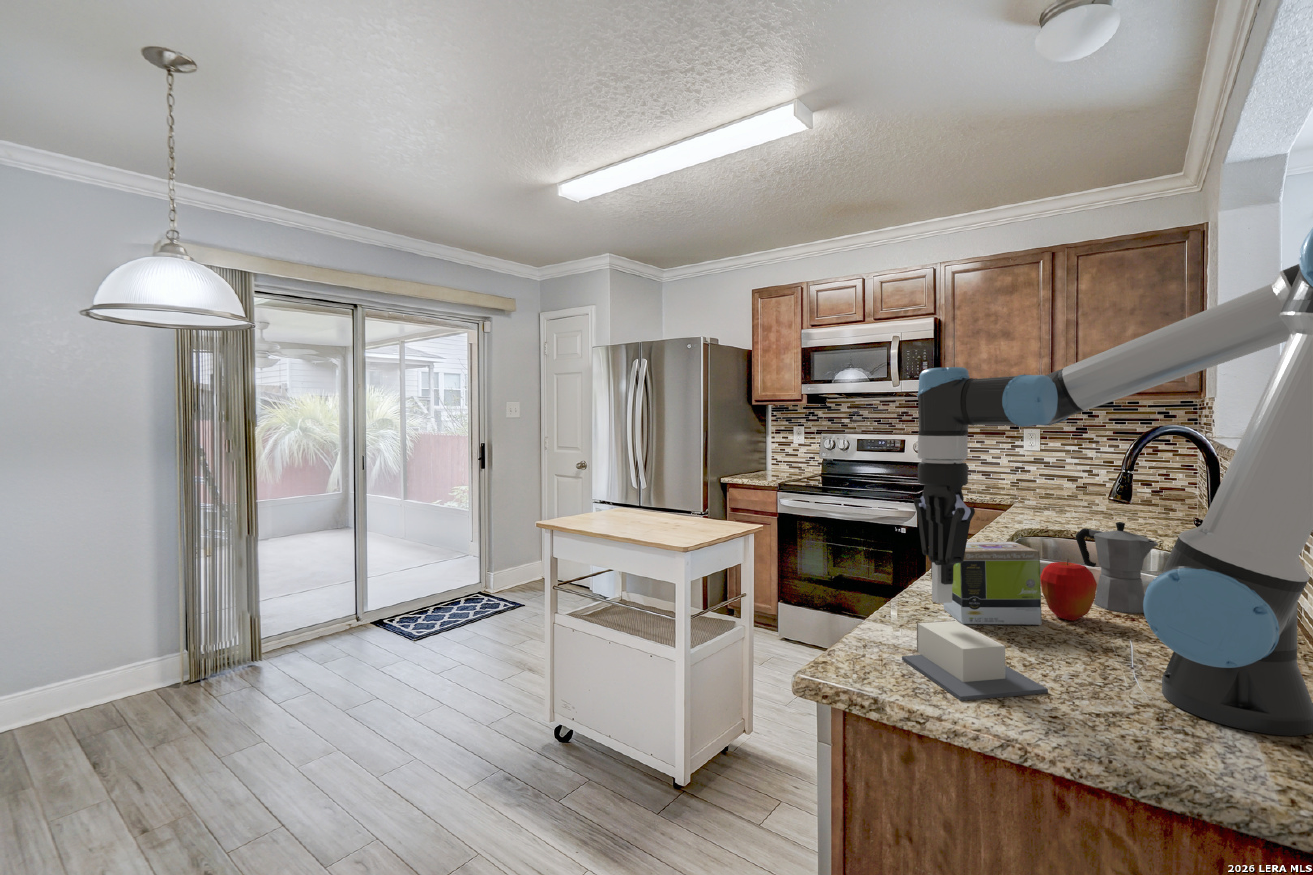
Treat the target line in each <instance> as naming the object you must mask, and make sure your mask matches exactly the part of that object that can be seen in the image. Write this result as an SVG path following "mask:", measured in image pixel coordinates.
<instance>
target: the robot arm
mask: <svg viewBox="0 0 1313 875" xmlns="http://www.w3.org/2000/svg"><path fill="white" fill-rule="evenodd" d="M1299 255H1300V256H1299V257H1298V264H1295V265H1292V266H1290V267H1288V268H1285V269H1283V270H1281V271H1279V272H1278V274H1277V276H1276V277H1275V279H1274V280H1273V281H1272V282H1271V283H1270V284H1267V285H1265V286H1262V287H1260V288H1257V289H1255V290H1252V291H1251V292H1248V293H1245V294H1243V295H1241V296H1238V297H1236V298H1233V299H1230V300H1228V301H1226V302H1223V303H1220V304H1218V305H1216V306H1213V307H1211V308H1208V309H1205V310H1203V311H1201V312H1197V313H1195V314H1193V315H1190V316H1188V317H1186V318H1183V319H1181V320H1178V321H1176V322H1173V323H1171V324H1168V325H1165V326H1164V327H1160V328H1159V329H1155V330H1153V331H1151V332H1149V333H1146V334H1144V335H1141V336H1139V337H1136V338H1134V339H1131V340H1129V341H1127V342H1123V343H1122V344H1119V345H1117V346H1114V347H1112V348H1110V349H1107V350H1105V351H1103V352H1100V353H1097V354H1094V355H1091V356H1090V357H1087V358H1085V359H1082V360H1080V361H1077V362H1074V363H1071V364H1070V365H1067V366H1065V367H1063V368H1061V369H1058V370H1055V371H1053V372H1050V373H1048V374H1046V375H1044V374H1019V375H1010V376H1009V375H1008V376H998V377H997V376H996V377H995V376H994V377H986V378H985V377H984V378H974V377H971V378H970V375H969V369H967V368H966V367H963V366H948V367H934V368H933V367H931V368H926V369H924V370H922V371H921V372H920V374H919V377H918V388H917V389H918V391H917V395H916V396H917V401H918V402H917V403H918V405H917V406H918V410H917V412H918V413H917V414H918V432H917V433H918V434H917V458H918V459H919V460H921V461H920V462H918V464H917V482H918V483H919V484H920V485H923V486H924V487H923V489H922V495H921V496H920V498H917V497H916V498H914V499H913V505H914V507H915V511H916V516H917V521H918V522H917V523H918V524H917V525H918V529H919V530H918V531H919V537H920V543H921V544H920V545H921V552H922V555H923V556H927V557H928V559H929V561H930V576H931V601H932V602H933V603H936V604H943V603H952V584H953V566H954V564H957V563H963V560H964V555H965V549H966V544H967V542H968V536H969V531H970V527H971V521H972V520H973V517H974V516H975V515H976V514H975V513H976V510H975V508H974V507H973V506H971V507H969V506H967V505H966V504H965V503H964V502H965V501H964V500H965V499H964V493H963V491H962V488H963V487H965V486H967V484H968V482H969V465H968V464H967V463H966V462H964V461H965V460H967V459H968V457H969V456H968V455H969V454H968V452H969V451H968V450H969V448H968V447H969V446H968V442H969V441H968V435H969V426H999V427H1000V426H1004V427H1005V426H1006V427H1007V426H1011V427H1013V426H1017V427H1024V428H1025V427H1032V426H1051V425H1055V424H1058V423H1061V422H1063V421H1066V420H1067V419H1068V418H1070V417H1071V416H1075V415H1077V414H1081V413H1082V412H1085V411H1087V410H1090V409H1093V408H1096V407H1100V406H1102V405H1105V404H1108V403H1111V402H1113V401H1116V400H1120V399H1122V398H1125V397H1128V396H1132V395H1134V394H1137V393H1140V392H1142V391H1146V390H1148V389H1152V388H1155V387H1158V386H1160V385H1163V384H1166V383H1169V382H1173V381H1175V380H1178V379H1180V378H1183V377H1187V376H1189V375H1193V374H1195V373H1198V372H1202V371H1204V370H1207V369H1209V368H1213V367H1215V366H1218V365H1221V364H1224V363H1227V362H1230V361H1233V360H1235V359H1236V360H1237V359H1239V358H1242V357H1245V356H1247V355H1250V354H1253V353H1256V352H1260V351H1262V350H1265V349H1268V348H1271V347H1274V346H1277V345H1279V344H1283V343H1285V344H1284V346H1283V348H1282V351H1281V353H1280V355H1279V357H1278V359H1277V361H1276V363H1275V366H1274V367H1273V370H1272V372H1271V374H1270V377H1269V379H1268V380H1267V383H1266V384H1265V387H1264V390H1263V391H1262V394H1261V395H1260V398H1259V400H1258V402H1257V405H1256V407H1255V408H1254V411H1253V413H1252V416H1251V417H1250V419H1249V422H1248V424H1247V426H1246V428H1245V431H1244V432H1243V434H1242V437H1241V439H1240V441H1239V443H1238V446H1237V448H1236V450H1235V452H1234V454H1233V456H1232V459H1231V460H1230V463H1229V465H1228V467H1227V469H1226V471H1225V474H1224V475H1223V476H1222V477H1223V478H1222V480H1221V482H1220V484H1219V486H1218V487H1217V490H1216V493H1215V495H1214V497H1213V499H1212V502H1211V503H1210V505H1209V507H1208V510H1207V512H1206V514H1205V516H1204V519H1203V520H1202V523H1201V524H1200V525H1199V526H1198V527H1194V528H1190V529H1187V530H1185V531H1181V532H1180V533H1179V535H1178V536H1177V539H1176V541H1175V543H1174V544H1173V547H1172V549H1171V551H1170V552H1169V556H1168V558H1167V560H1166V562H1165V564H1164V566H1163V569H1162V571H1161V573H1160V574H1159V575H1158V576H1156V577H1155V578H1153V580H1152V581H1151V582H1149V584H1148V585H1147V587H1146V590H1145V591H1144V594H1145V596H1144V601H1143V610H1144V613H1143V615H1144V618H1145V620H1146V623H1147V624H1148V626H1149V628H1150V630H1151V631H1152V633H1153V634H1154V635H1155V636H1156V637H1157V639H1158V640H1159V641H1160V642H1161V643H1163V645H1165V646H1166V647H1167V648H1168V649H1169V650H1171V651H1173V653H1172V655H1171V657H1170V659H1169V661H1168V664H1167V666H1166V669H1165V670H1164V672H1163V673H1162V677H1161V693H1162V696H1163V697H1164V698H1165V699H1166V700H1167V702H1168V701H1169V702H1170V703H1172V704H1173V705H1175V706H1176V707H1177V708H1179V709H1181V710H1184V711H1185V712H1188V713H1190V714H1192V715H1195V716H1197V717H1200V718H1203V719H1205V720H1208V721H1211V722H1214V723H1218V724H1220V725H1223V726H1228V727H1230V728H1236V729H1240V730H1244V731H1249V732H1254V733H1259V734H1265V735H1275V736H1303V735H1305V736H1306V735H1309V734H1312V733H1313V701H1312V697H1311V695H1310V691H1309V690H1308V687H1307V685H1306V684H1307V683H1306V682H1305V679H1304V677H1303V674H1302V672H1301V670H1300V667H1299V664H1298V607H1299V606H1298V602H1299V599H1300V597H1301V596H1302V594H1303V592H1304V590H1305V588H1306V585H1307V584H1308V583H1309V580H1310V578H1311V576H1310V574H1309V573H1308V571H1307V570H1306V568H1305V566H1304V565H1303V564H1302V562H1301V561H1300V556H1301V553H1302V552H1303V549H1304V547H1305V545H1306V544H1307V542H1308V539H1309V538H1310V536H1311V534H1312V533H1313V227H1312V228H1310V230H1309V232H1308V233H1307V235H1306V237H1305V238H1304V240H1303V242H1302V243H1301V246H1300V248H1299Z"/></svg>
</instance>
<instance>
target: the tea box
mask: <svg viewBox="0 0 1313 875" xmlns="http://www.w3.org/2000/svg"><path fill="white" fill-rule="evenodd" d="M1040 576H1041V555H1040V550H1037V549H1035V548H1031V547H1029V546H1026V545H1023V544H1020V543H1018V542H1016V541H967V544H966V549H965V555H964V560H963V563H957V564H954V566H953V584H952V603H942V604H943V606H942V607H943V609H944V611H945V612H947V613H948V615H950V616H952V618H954V620H955V621H957V622H959V623H961V624H963V625H1023V626H1024V625H1027V626H1028V625H1030V626H1035V625H1037V626H1039V625H1040V626H1041V625H1042V623H1043V622H1042V588H1041V580H1040Z"/></svg>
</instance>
